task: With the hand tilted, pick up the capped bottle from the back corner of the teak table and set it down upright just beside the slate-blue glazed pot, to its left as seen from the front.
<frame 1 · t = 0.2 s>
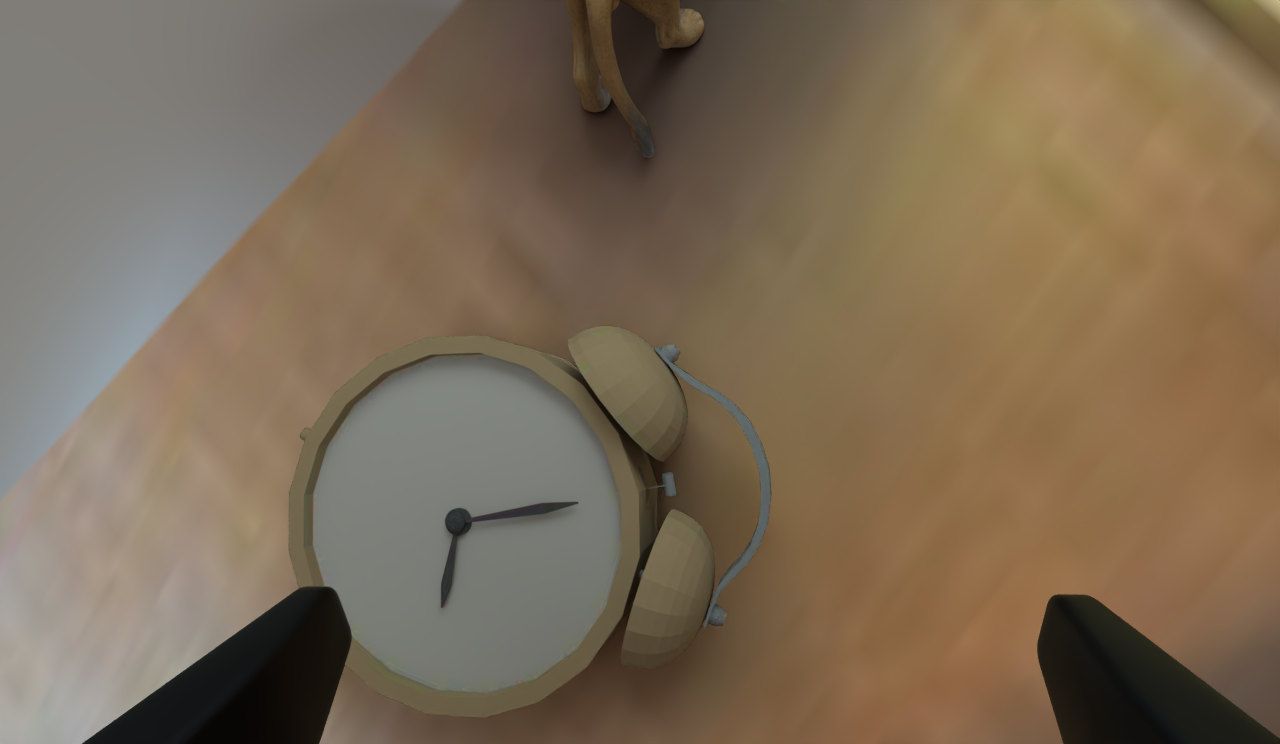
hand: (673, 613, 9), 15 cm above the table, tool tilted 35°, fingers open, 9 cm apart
alarm clock: (547, 499, 25), on the table
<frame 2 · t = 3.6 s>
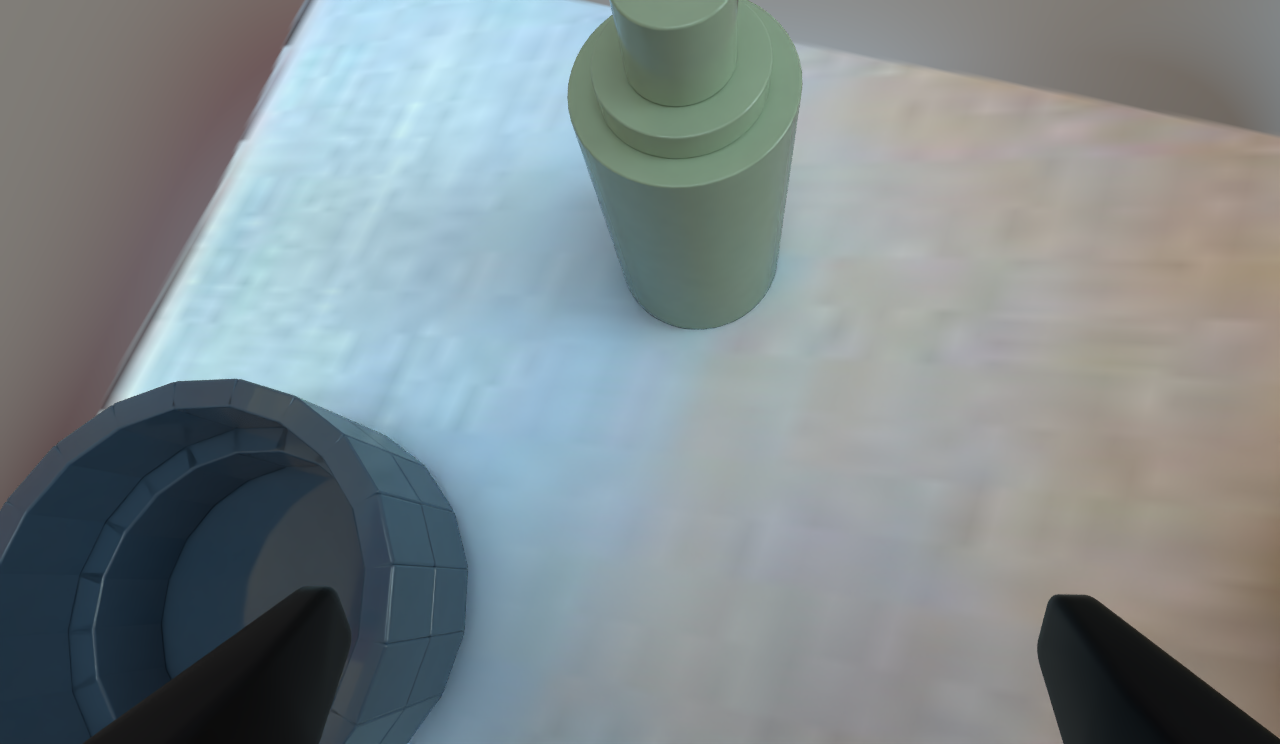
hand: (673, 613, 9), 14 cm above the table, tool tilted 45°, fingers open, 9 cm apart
pot: (303, 600, 24), on the table
capped bottle: (699, 257, 25), on the table
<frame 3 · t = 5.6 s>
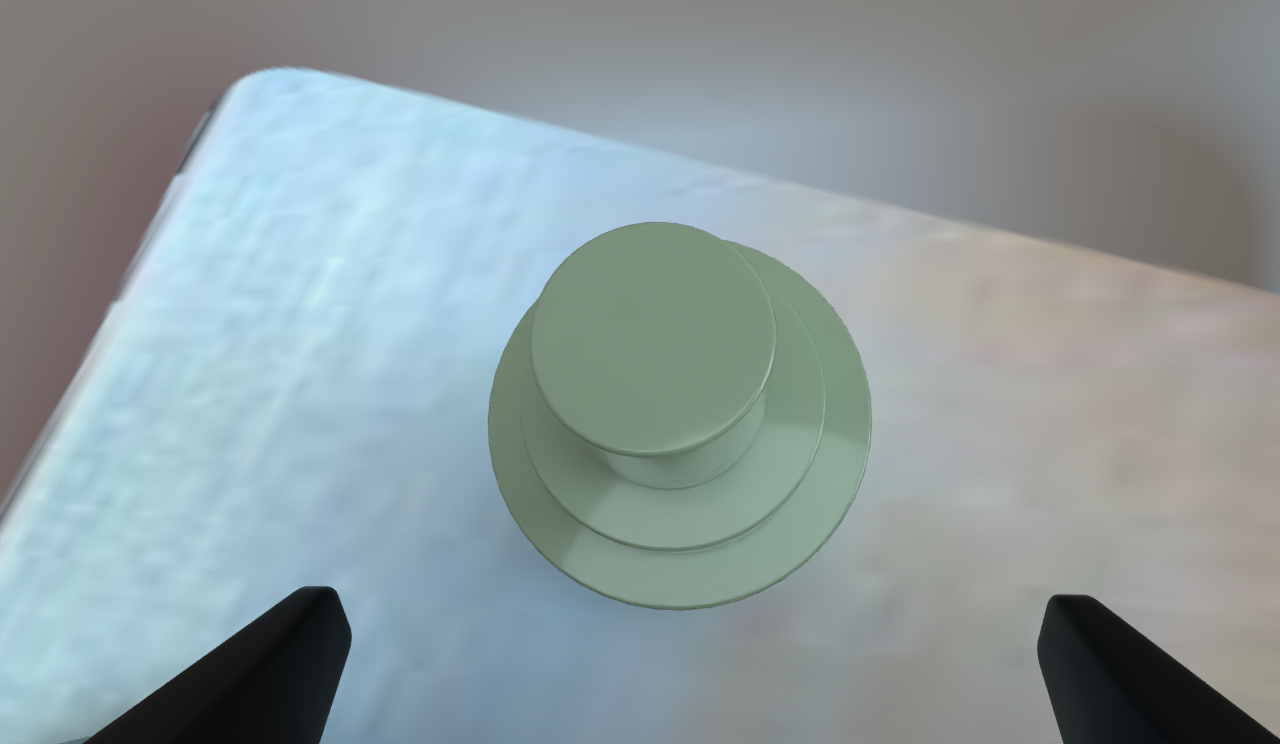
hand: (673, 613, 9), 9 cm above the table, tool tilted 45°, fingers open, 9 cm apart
capped bottle: (700, 492, 19), on the table
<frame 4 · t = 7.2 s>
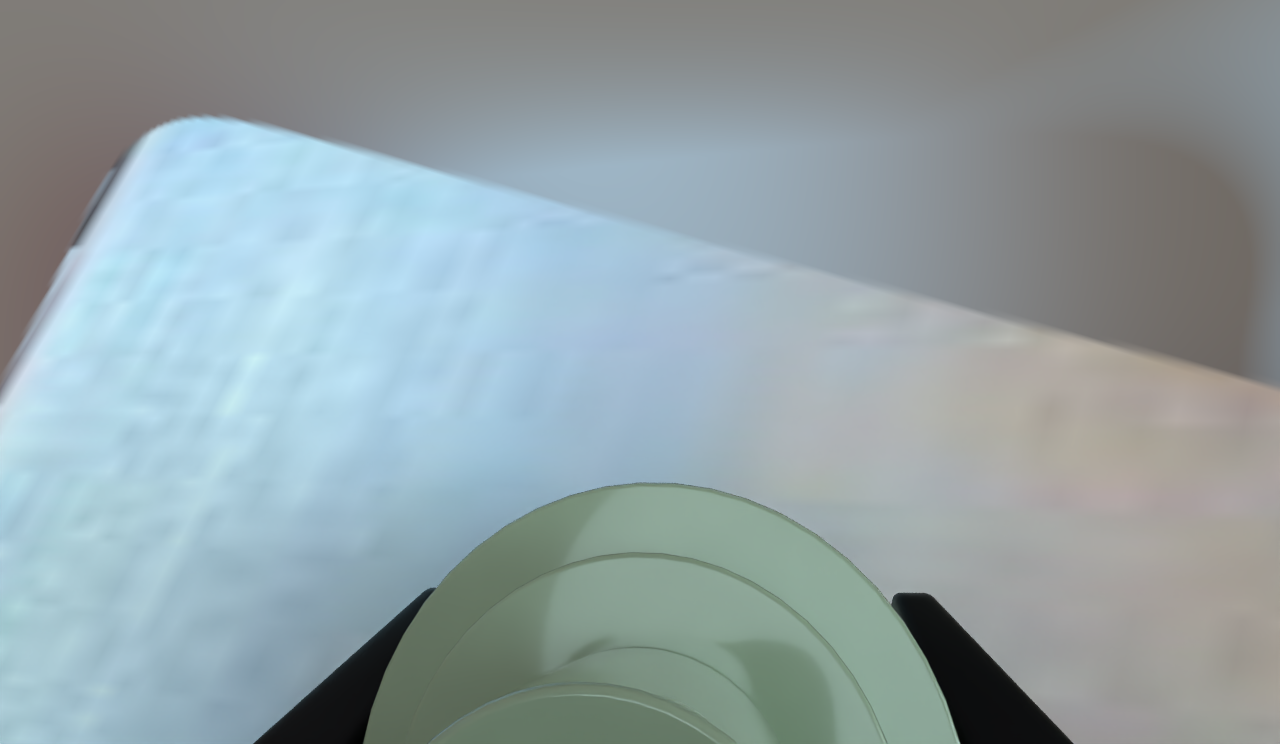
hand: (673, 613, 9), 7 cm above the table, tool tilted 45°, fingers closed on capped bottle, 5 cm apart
capped bottle: (696, 672, 15), on the table, touching gripper
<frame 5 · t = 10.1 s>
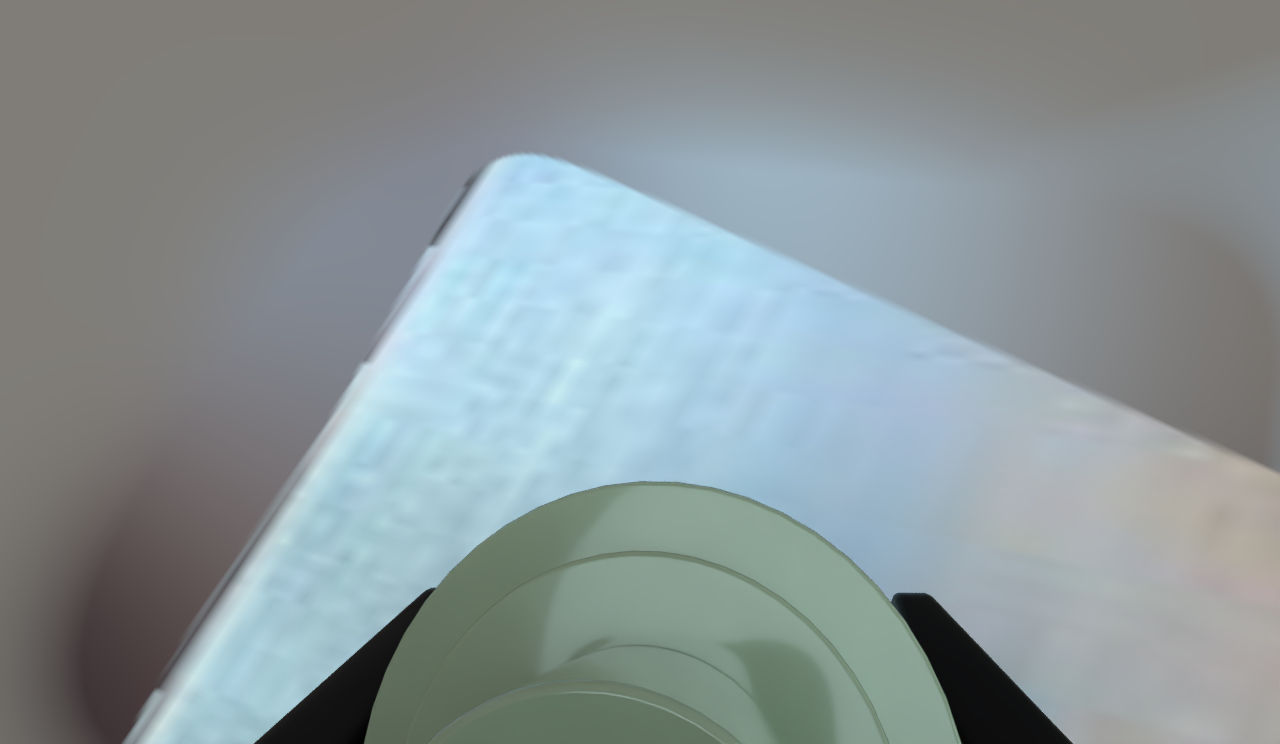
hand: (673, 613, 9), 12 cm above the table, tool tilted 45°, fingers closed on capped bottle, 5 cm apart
capped bottle: (697, 671, 15), point 6 cm above the table, touching gripper
when the fingers open (7 cm above the table, at t = 12.8 s): capped bottle stays where it is, on the table.
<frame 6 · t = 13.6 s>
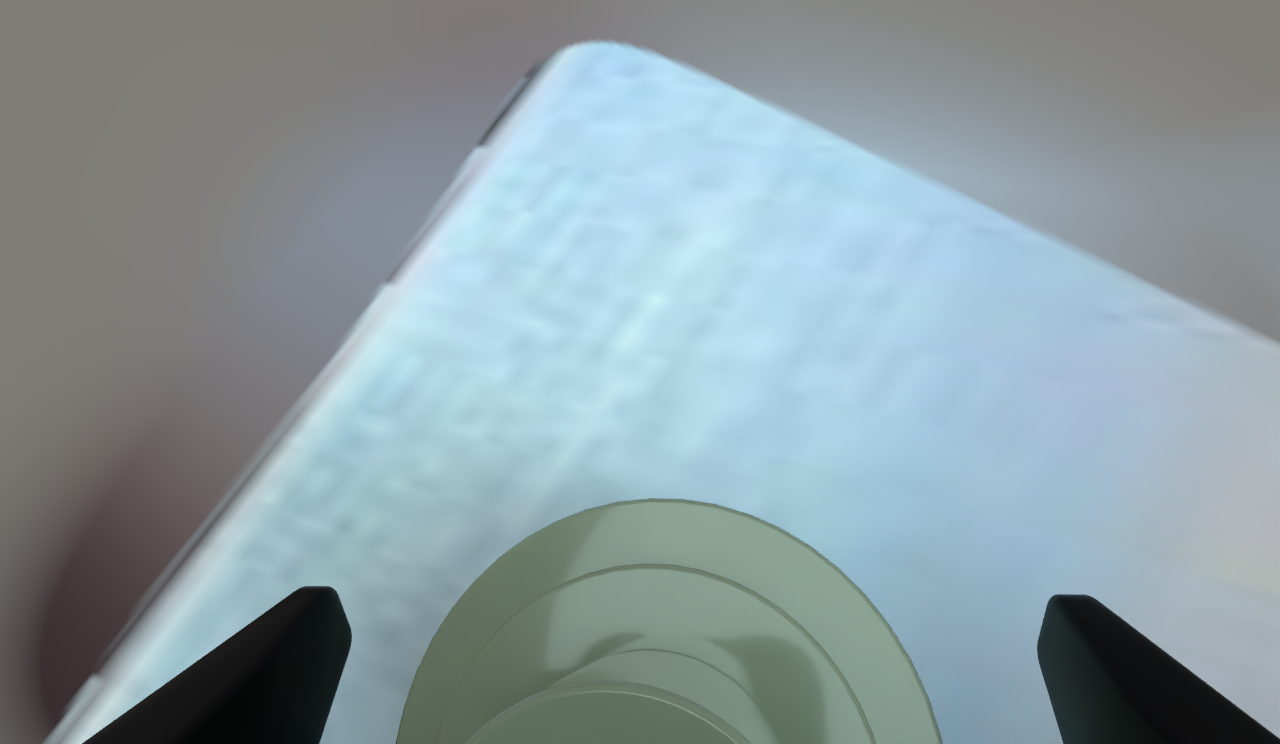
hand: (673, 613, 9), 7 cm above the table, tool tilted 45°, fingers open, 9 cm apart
capped bottle: (698, 672, 16), on the table
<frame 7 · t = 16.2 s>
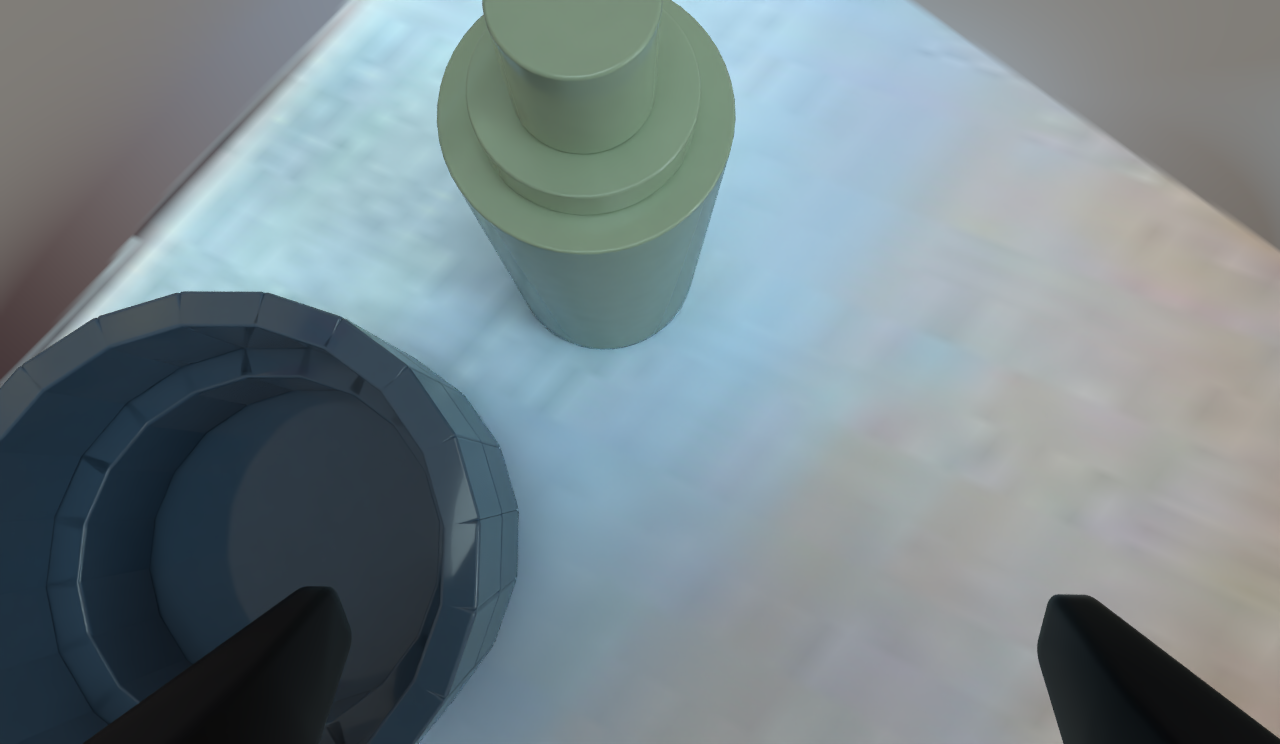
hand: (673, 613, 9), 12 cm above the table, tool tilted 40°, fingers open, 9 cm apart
pot: (320, 541, 21), on the table
capped bottle: (605, 262, 22), on the table
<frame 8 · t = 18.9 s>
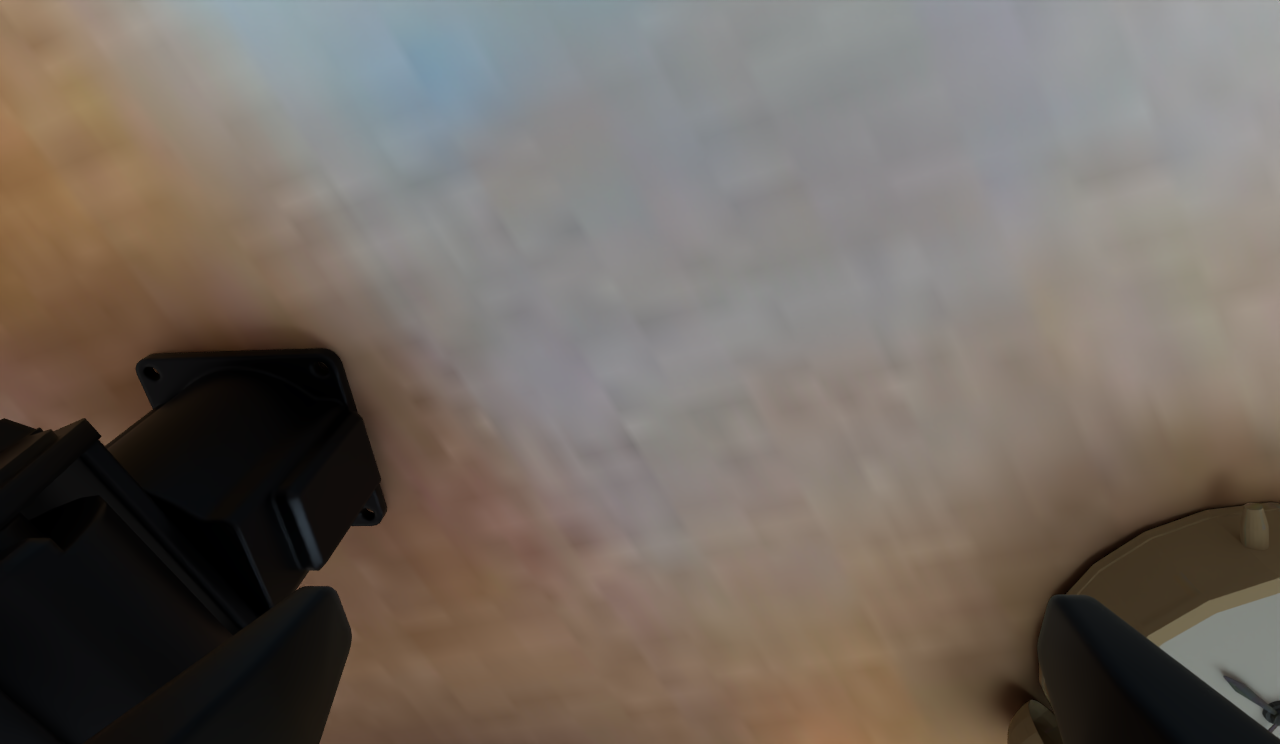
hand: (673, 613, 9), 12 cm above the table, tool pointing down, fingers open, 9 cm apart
alarm clock: (1176, 661, 25), on the table
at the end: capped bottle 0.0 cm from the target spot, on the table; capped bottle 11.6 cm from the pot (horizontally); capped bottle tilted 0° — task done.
